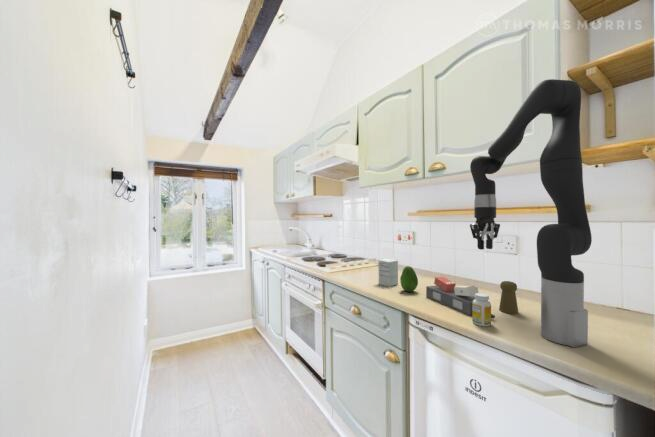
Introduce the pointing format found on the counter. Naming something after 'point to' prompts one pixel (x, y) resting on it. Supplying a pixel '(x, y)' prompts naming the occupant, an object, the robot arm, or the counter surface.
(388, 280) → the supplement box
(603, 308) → the counter surface
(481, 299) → the supplement bottle
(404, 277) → the avocado
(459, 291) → the rocker
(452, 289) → the rocker
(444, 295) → the power strip
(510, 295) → the cork
